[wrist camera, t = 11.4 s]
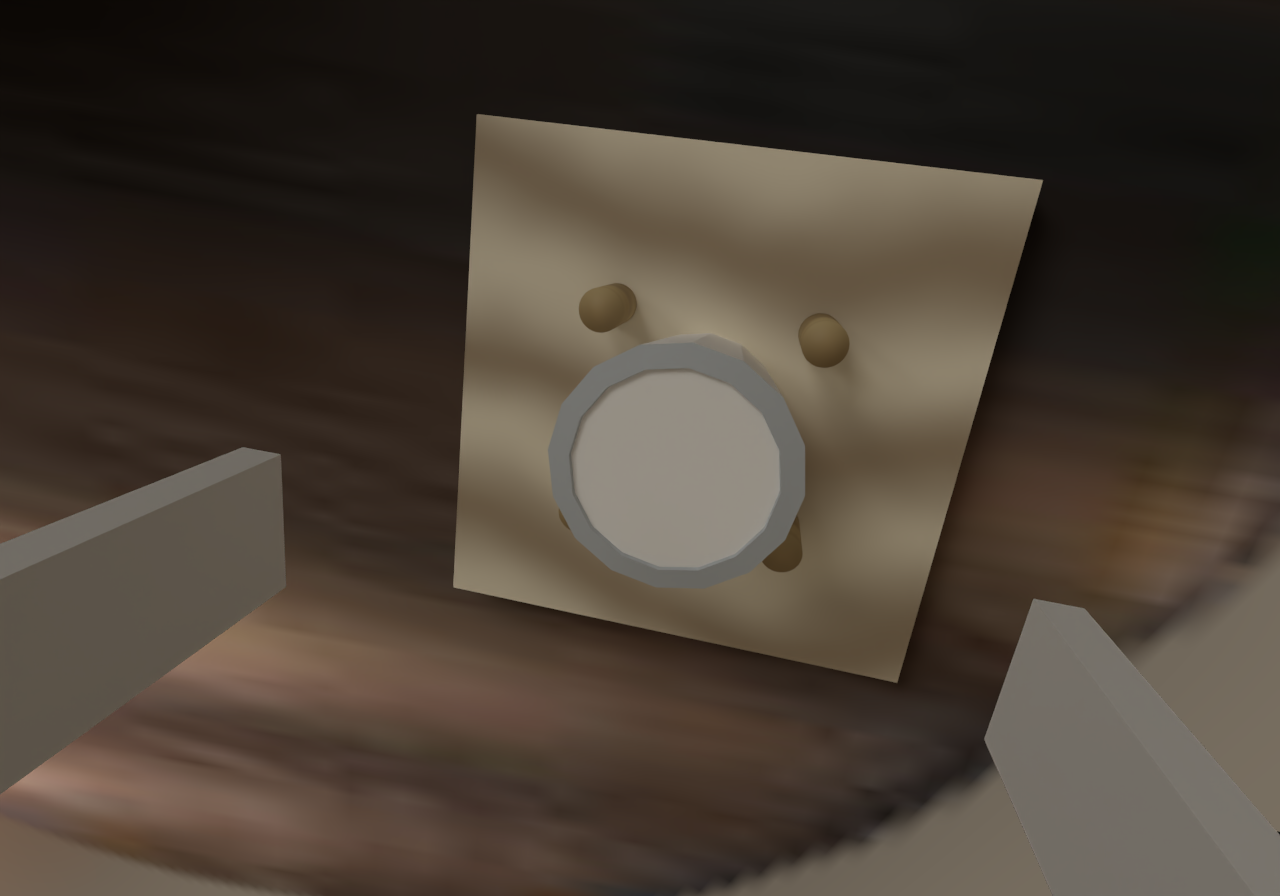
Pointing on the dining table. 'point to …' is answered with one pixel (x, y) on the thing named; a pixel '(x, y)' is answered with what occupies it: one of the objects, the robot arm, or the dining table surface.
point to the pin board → (768, 328)
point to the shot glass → (678, 462)
